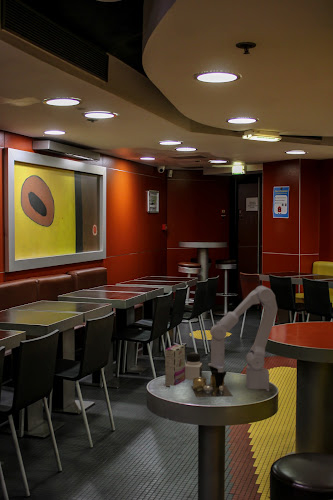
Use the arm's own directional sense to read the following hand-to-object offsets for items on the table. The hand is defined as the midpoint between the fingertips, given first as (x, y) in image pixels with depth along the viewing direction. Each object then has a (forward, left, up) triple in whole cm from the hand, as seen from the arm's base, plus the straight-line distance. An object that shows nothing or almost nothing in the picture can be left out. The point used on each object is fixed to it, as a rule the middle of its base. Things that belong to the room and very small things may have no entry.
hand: (217, 385), depth 250 cm
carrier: (+4, +6, -2) cm, 7 cm away
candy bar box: (+17, -10, -2) cm, 20 cm away
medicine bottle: (+8, -16, -2) cm, 18 cm away
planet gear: (0, 0, -1) cm, 1 cm away
